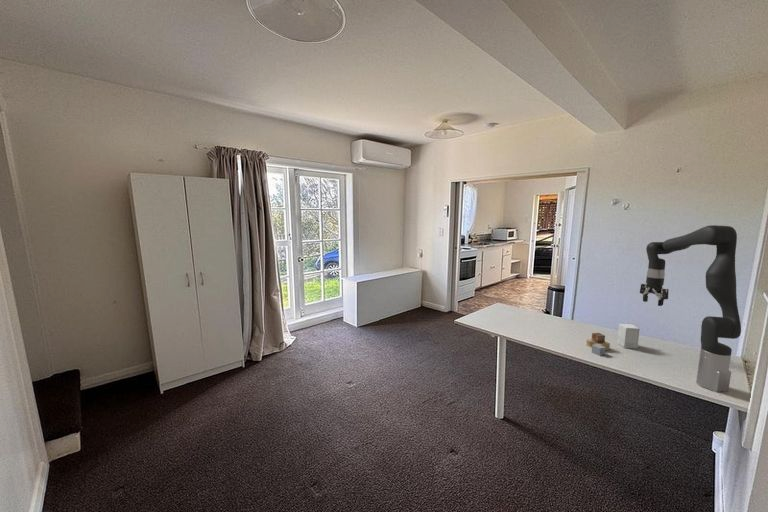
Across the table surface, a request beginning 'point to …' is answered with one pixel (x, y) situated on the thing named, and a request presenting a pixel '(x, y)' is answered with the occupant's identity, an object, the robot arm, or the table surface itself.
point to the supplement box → (628, 336)
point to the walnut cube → (598, 337)
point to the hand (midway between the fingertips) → (652, 303)
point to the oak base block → (605, 344)
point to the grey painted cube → (598, 349)
